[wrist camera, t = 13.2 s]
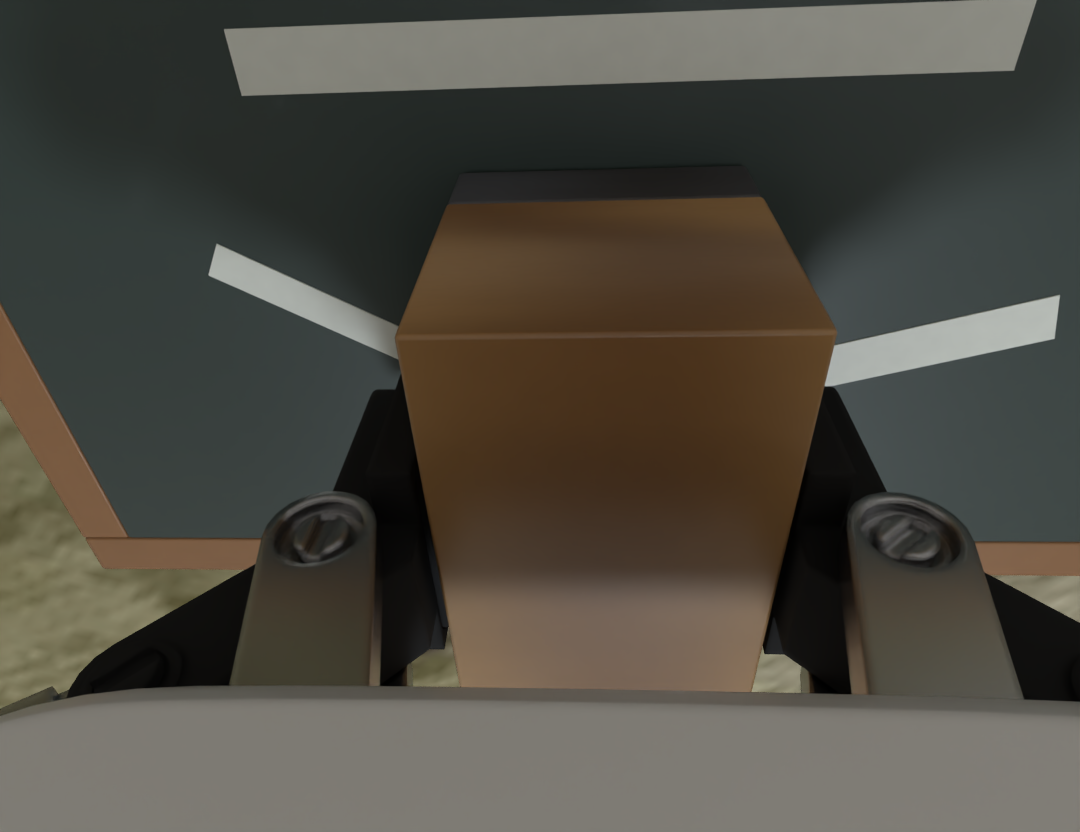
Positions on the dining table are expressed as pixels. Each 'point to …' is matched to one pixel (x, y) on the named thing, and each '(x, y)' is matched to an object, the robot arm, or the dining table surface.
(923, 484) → the chalkboard
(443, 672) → the dining table surface
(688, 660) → the eraser
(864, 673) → the robot arm
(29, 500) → the dining table surface
